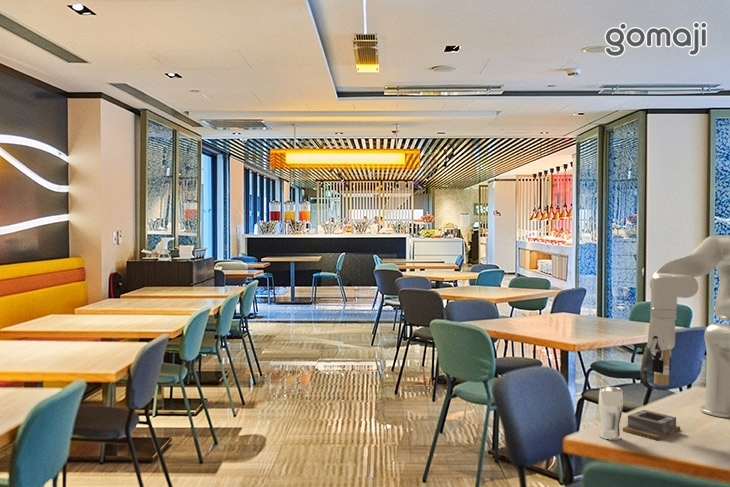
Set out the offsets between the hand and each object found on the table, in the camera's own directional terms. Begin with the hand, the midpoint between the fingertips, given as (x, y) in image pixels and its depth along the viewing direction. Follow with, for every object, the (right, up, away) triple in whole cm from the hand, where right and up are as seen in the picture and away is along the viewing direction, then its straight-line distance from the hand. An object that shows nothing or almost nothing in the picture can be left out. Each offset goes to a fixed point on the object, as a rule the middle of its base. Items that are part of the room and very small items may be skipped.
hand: (661, 370), depth 199 cm
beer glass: (-19, -20, -6) cm, 28 cm away
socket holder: (-2, -20, +1) cm, 20 cm away
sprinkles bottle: (0, -5, 0) cm, 5 cm away
